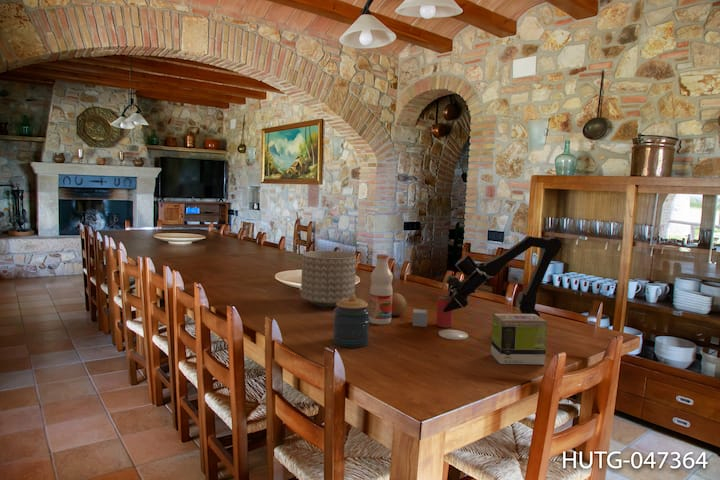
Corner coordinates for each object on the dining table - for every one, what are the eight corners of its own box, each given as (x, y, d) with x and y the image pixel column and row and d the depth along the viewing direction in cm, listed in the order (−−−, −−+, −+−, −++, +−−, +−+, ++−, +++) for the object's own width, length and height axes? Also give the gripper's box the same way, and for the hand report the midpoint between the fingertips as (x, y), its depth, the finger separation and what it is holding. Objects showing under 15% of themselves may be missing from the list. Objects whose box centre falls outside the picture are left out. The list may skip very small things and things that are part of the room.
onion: (405, 319, 201) (406, 296, 200) (382, 317, 203) (383, 294, 202) (407, 313, 211) (408, 291, 210) (385, 311, 213) (386, 290, 211)
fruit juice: (375, 317, 202) (377, 252, 199) (394, 321, 198) (398, 255, 195) (364, 322, 194) (367, 255, 191) (384, 326, 190) (387, 257, 187)
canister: (348, 334, 177) (350, 288, 175) (376, 342, 169) (378, 294, 167) (324, 342, 167) (326, 293, 165) (352, 351, 159) (354, 300, 157)
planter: (292, 308, 212) (293, 256, 210) (311, 296, 236) (312, 249, 234) (346, 314, 206) (348, 260, 204) (359, 301, 231) (361, 253, 228)
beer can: (452, 328, 190) (453, 299, 188) (435, 327, 191) (437, 298, 190) (452, 324, 196) (454, 296, 195) (436, 323, 197) (437, 294, 196)
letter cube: (426, 323, 197) (427, 310, 196) (426, 326, 192) (427, 313, 191) (412, 322, 198) (413, 309, 197) (412, 326, 192) (413, 312, 191)
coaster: (473, 338, 178) (473, 336, 178) (449, 341, 174) (449, 339, 174) (456, 330, 188) (456, 328, 188) (433, 332, 184) (433, 330, 184)
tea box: (532, 355, 162) (536, 313, 160) (545, 365, 152) (548, 321, 151) (489, 354, 162) (492, 311, 160) (499, 364, 152) (502, 319, 150)
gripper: (456, 265, 200) (428, 289, 202) (461, 273, 181) (430, 299, 184) (474, 284, 200) (446, 308, 202) (480, 294, 181) (449, 320, 184)
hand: (442, 308), depth 193 cm, fingers open, 9 cm apart
